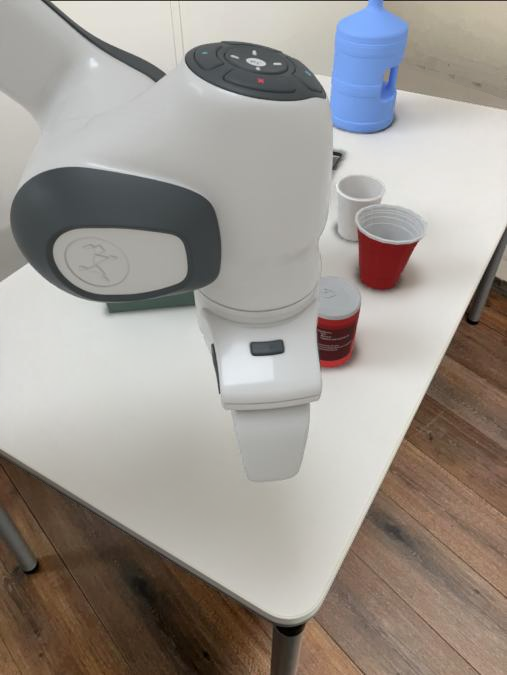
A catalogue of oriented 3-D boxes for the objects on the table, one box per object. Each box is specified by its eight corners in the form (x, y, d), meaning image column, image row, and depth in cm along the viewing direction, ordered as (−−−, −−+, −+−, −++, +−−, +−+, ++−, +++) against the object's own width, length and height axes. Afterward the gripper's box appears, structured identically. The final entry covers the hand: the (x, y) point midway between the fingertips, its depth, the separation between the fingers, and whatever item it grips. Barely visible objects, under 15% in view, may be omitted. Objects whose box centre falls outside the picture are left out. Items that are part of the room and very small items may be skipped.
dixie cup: (375, 251, 90) (385, 202, 83) (328, 246, 91) (333, 197, 84) (377, 224, 96) (386, 175, 88) (332, 220, 97) (338, 171, 89)
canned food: (320, 323, 78) (327, 267, 70) (362, 351, 74) (374, 295, 66) (286, 350, 75) (289, 294, 67) (329, 380, 71) (336, 325, 63)
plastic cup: (424, 280, 84) (443, 219, 76) (386, 313, 79) (401, 251, 71) (371, 252, 90) (383, 192, 81) (332, 281, 85) (339, 220, 76)
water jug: (331, 135, 120) (344, -4, 100) (324, 107, 131) (335, -24, 110) (397, 134, 120) (425, -6, 99) (385, 105, 131) (407, -26, 110)
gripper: (205, 218, 43) (215, 330, 54) (222, 419, 30) (231, 518, 40) (278, 213, 44) (274, 324, 54) (329, 409, 30) (311, 509, 40)
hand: (256, 408), depth 47 cm, fingers closed on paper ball, 5 cm apart
